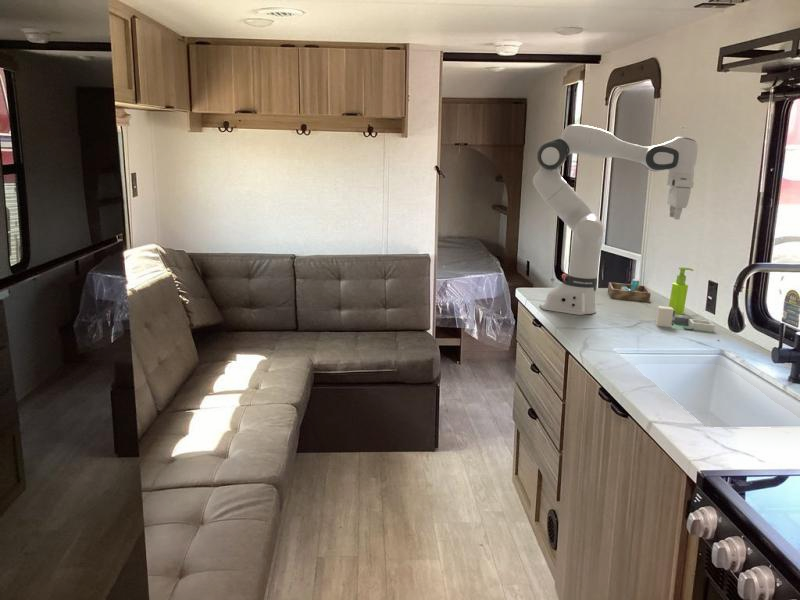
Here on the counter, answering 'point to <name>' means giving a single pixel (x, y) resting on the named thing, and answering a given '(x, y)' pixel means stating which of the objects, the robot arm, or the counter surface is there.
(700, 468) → the counter surface
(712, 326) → the compartment tray
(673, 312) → the plug
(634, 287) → the teal container
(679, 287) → the soap dispenser
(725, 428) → the counter surface
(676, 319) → the grey sponge
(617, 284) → the wooden tray
